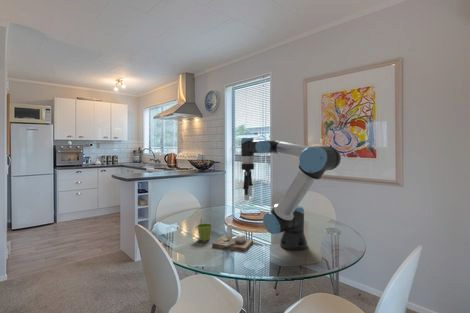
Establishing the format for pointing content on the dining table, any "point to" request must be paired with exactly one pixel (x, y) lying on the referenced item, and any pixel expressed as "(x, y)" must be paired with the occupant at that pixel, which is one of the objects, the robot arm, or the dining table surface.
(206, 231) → the plant pot
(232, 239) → the peg
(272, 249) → the dining table surface
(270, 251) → the dining table surface
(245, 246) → the board
